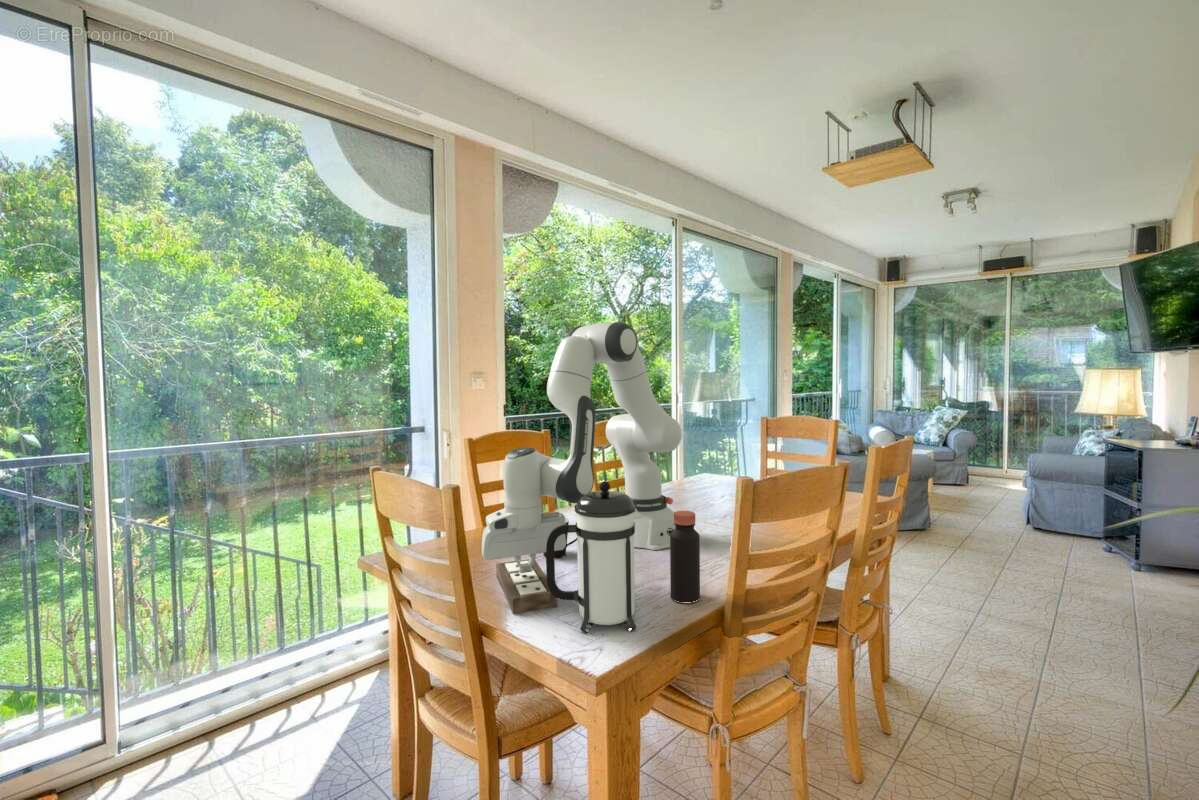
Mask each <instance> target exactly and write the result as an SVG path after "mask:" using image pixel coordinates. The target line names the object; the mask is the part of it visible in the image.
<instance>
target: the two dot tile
mask: <svg viewBox="0 0 1199 800" xmlns="http://www.w3.org/2000/svg"><path fill="white" fill-rule="evenodd" d="M516 591H517V593H518V595H519V596H523V595H530V594H536V593H543V592H547V590H546V589H545V587H544V586H543V584H542V582H541V581H539V582H532V583H526V584H519V585H516Z"/></svg>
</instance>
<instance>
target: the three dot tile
mask: <svg viewBox="0 0 1199 800" xmlns="http://www.w3.org/2000/svg"><path fill="white" fill-rule="evenodd" d="M510 579H511V581H512V583H513V584H515V583H522V582H529V581H536V580H539V578H538V576H537V575H536V573H535V572H534V571H532V572H526V573H512V574H510Z"/></svg>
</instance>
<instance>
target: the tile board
mask: <svg viewBox="0 0 1199 800" xmlns="http://www.w3.org/2000/svg"><path fill="white" fill-rule="evenodd" d="M529 559H530V558H527V559H521V560H519V561H520V562H522V561H529ZM514 562H516V561H515V560H513V561H505V562H498V563H496V564H495V569H496V570H495V571H496V575H495V576H496V578H497V581H498V583H499V586H500V588H501V589H502V593H503V594H504V597H505V599H506V601H507V604H508V606H509V608H510V610H511V613H512V615H515V614H522V613H527V612H529V613H530V612H535V611H541V610H546V609H548V610H549V609H552V608H558V598H556V597H554V596H553V595H552V594H551V592H550V591H549V588H548V585H547V574H545V572H544V571H543V569H542V568H541V567H540V565H539V563H538V562H537V560H536V559H535V561H534V563H533V564H532V568H533V569H532V571H534V572H535V573H536V575H537V576H538V578H539V580H536V581H529V582H522V583H515V584H513V583H512V581H511V579H510V574H512V573H519V571H517V572H509V573H507V571H506V569H505V564H507V563H514ZM539 581H541V582H542V584H543V586H544V587H545V589H546V590H547V592H543V593H536V594H530V595H523V596H519V595H518V593H517V591H516V585H519V584H526V583H532V582H539Z"/></svg>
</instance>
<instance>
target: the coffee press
mask: <svg viewBox="0 0 1199 800" xmlns="http://www.w3.org/2000/svg"><path fill="white" fill-rule="evenodd" d="M598 487H599V490H596V491H595V490H594V491H591V492H590V493H587V494H585V495H583V496H582V497H580V498H579V500H578V502H577V503H575V505H574V512H575V515H576V523H575V524H569V525H568V524H565V525H561V526H558V527H556V528H555V529H553V530H552V532H551V533H550V535H549V537H548V540H547V545H546V557H545V564H546V565H545V566H546V567H545V569H546V574H545V575H546V577H547V585H548V588H549V591H550V592H551V594H552V595H553V596H554V597H556V598H557V600H563V601H574V602H575V601H576V602H577V604H578V611H579V614H580V616H581V618H582V619H583V621H581V625H580V632H581V633H585V634H589V632H591V629H592V627H593V626H594V625H600V626H601V625H602V626H612V625H613V626H614V625H618V624H623V625H624V627H625V628H626V630H627V631H628V629H629V628H632V630H633V631H634V630H636V628H637V624H636V622H635V620H634V618H633V615H634V614H635V610H636V608H635V607H636V600H635V599H636V595H635V594H636V592H635V591H636V590H635V589H636V588H635V587H636V583H635V578H636V577H635V573H636V572H635V547H634V533H635V522H634V520H635V519H637V518H642V516H641V514H640V513H639V512H638V511H637V509H636V506H635V504H634V503H633V501H632V499H631V498H630V497H629V496H628V495H626V494H625V492H620V491H617V490H616V491H615V490H610V489H611V485H610V483H609V482H608V481H601V482H600V483H599V485H598ZM567 533H568V534H569V533H570V534H571V533H575V534H576V538H577V540H576V542H577V544H576V547H577V548H576V549H577V551H576V552H577V590H574V591H572V590H571V591H570V590H569V591H566V590H562V589H560V588H559V587H558V586H557V585H558V584H557V583H556V572H555V571H556V570H555V569H556V567H555V566H556V565H555V564H556V563H555V560H556V559H554V545H555V541H556V539H557V538H558V537H559V536H560V535H562V534H567ZM632 630H631V632H632Z"/></svg>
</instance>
